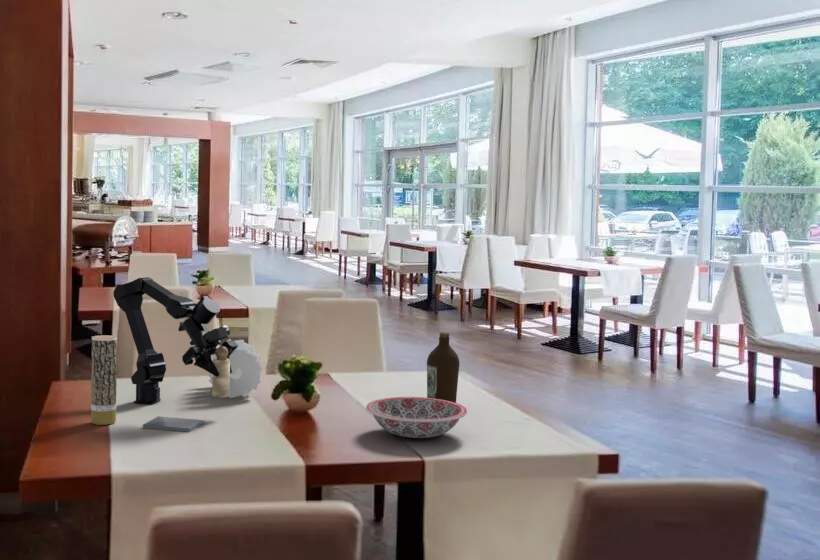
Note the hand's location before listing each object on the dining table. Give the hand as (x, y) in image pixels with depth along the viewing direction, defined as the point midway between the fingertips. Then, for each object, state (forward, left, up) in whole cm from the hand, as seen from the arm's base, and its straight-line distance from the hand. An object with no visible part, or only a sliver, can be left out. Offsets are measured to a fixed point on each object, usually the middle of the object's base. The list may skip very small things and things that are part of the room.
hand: (224, 374), depth 266 cm
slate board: (-10, -12, -13) cm, 21 cm away
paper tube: (-30, -15, -14) cm, 37 cm away
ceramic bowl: (+59, -1, -14) cm, 60 cm away
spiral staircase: (-9, +35, -14) cm, 39 cm away
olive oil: (+62, +34, -14) cm, 72 cm away
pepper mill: (-1, +1, -7) cm, 7 cm away
